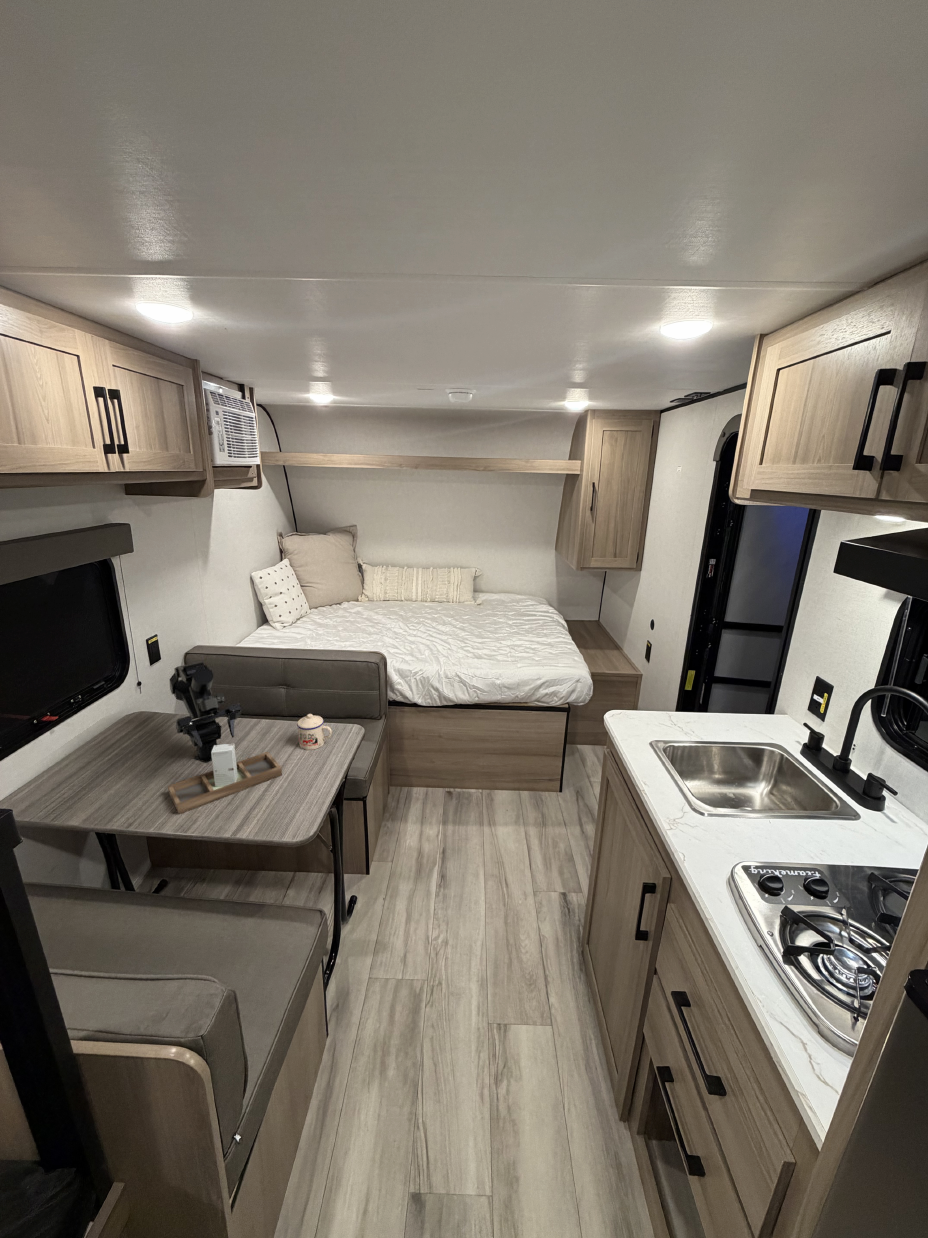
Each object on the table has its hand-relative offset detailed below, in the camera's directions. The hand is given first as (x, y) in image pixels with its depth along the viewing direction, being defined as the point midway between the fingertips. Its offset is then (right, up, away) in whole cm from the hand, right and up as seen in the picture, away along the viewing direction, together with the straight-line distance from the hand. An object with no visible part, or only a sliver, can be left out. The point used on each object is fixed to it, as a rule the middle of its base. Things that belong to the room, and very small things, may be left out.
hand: (217, 741), depth 157 cm
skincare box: (+3, -13, 0) cm, 13 cm away
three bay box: (+3, -14, 0) cm, 14 cm away
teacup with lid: (+24, -7, +24) cm, 34 cm away
